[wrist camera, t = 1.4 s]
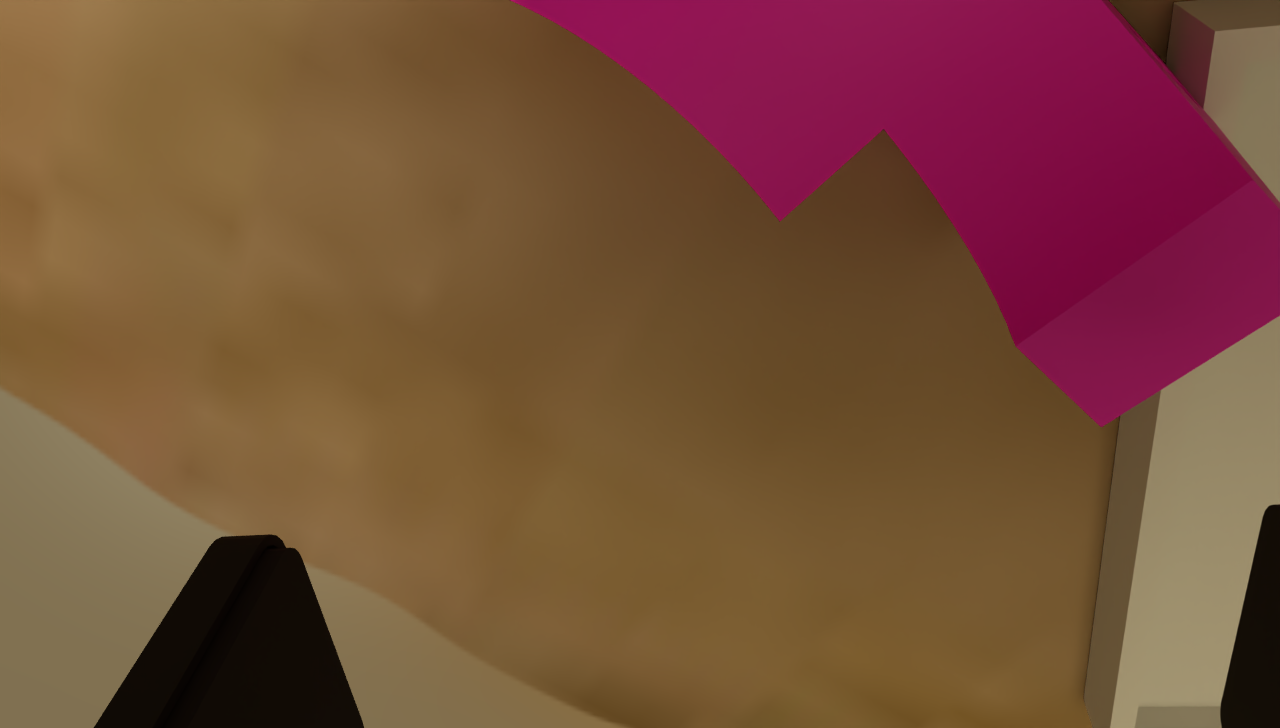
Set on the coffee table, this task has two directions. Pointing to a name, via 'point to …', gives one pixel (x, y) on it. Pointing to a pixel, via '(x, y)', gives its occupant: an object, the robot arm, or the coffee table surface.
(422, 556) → the coffee table surface
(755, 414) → the coffee table surface
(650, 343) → the coffee table surface
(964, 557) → the coffee table surface
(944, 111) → the toy block
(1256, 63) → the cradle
